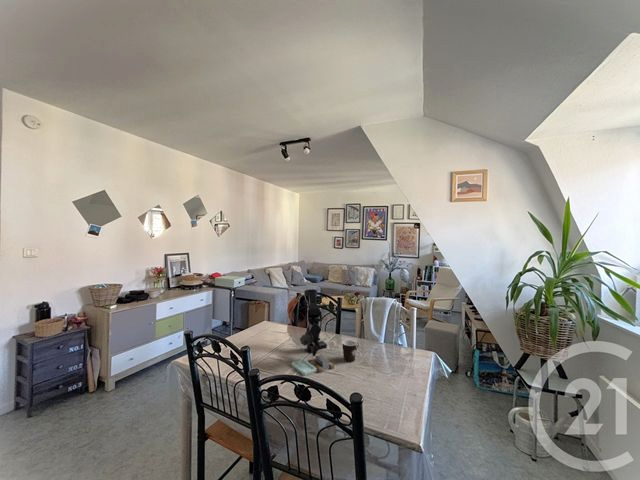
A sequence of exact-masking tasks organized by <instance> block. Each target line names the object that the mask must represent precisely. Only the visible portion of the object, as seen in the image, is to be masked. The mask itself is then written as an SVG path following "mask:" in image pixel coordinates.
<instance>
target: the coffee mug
mask: <svg viewBox="0 0 640 480" xmlns="http://www.w3.org/2000/svg"><path fill="white" fill-rule="evenodd" d="M341 343H342V345H341V346H342V354H343V360H344V361H345V362H346V363H353V362H355V360H356V352H357V350H358V348H359V346H360V345H359V342H357V341H355V340H351V339H347V340H343V341H342V342H341Z"/></svg>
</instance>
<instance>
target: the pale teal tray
mask: <svg viewBox="0 0 640 480" xmlns="http://www.w3.org/2000/svg"><path fill="white" fill-rule="evenodd" d="M291 367H292V368H294V369H295V370H296V371H298V372H299V373H300V374H301V375H303V377H305V376H308V375H311V374H315V373H317V372H318V371H317V368H316V367H314V366H313V365H311V364H310V363H309V362H308V360H305V359H304V358H301V359H299V360H294V361H292V362H291Z"/></svg>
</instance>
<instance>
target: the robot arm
mask: <svg viewBox="0 0 640 480" xmlns="http://www.w3.org/2000/svg"><path fill="white" fill-rule="evenodd" d="M303 296H304V300H305V301H306V303H307V311H306V314H307V322H308V323H307V325H308V326H307V328H306V329H305V332H304V334H303V335H302V336H301V337H300V338H299V341H300V344H301V345H303V346H306V348H304V350H305V352H308V354H311V355H312V357H316V356H317V355H316V354H317V352H319V351H320V350H324V349H327V348H328V344H327V343H326V341H324V340H321V337H320V334H321V331H322V329H321V326H320V322H322V320H323V315H322V311H321V310H322V309H320V305H318V304H317V300H316V299H317V296H318V290H317V289H311V288H310V289H305V290H304V291H303Z"/></svg>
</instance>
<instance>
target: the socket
mask: <svg viewBox="0 0 640 480" xmlns="http://www.w3.org/2000/svg"><path fill="white" fill-rule="evenodd" d="M307 362H309V363H310V364H311V365H313V366H314V367H316V368H317V372H319V373H324V371H323V368H322V367H321V366H319V365H318V364H317V363H316V357H315V358H312V359H308V360H307ZM330 369H331V370H333V369H335V364H334V363H332V362H331V361H329V370H330Z"/></svg>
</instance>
